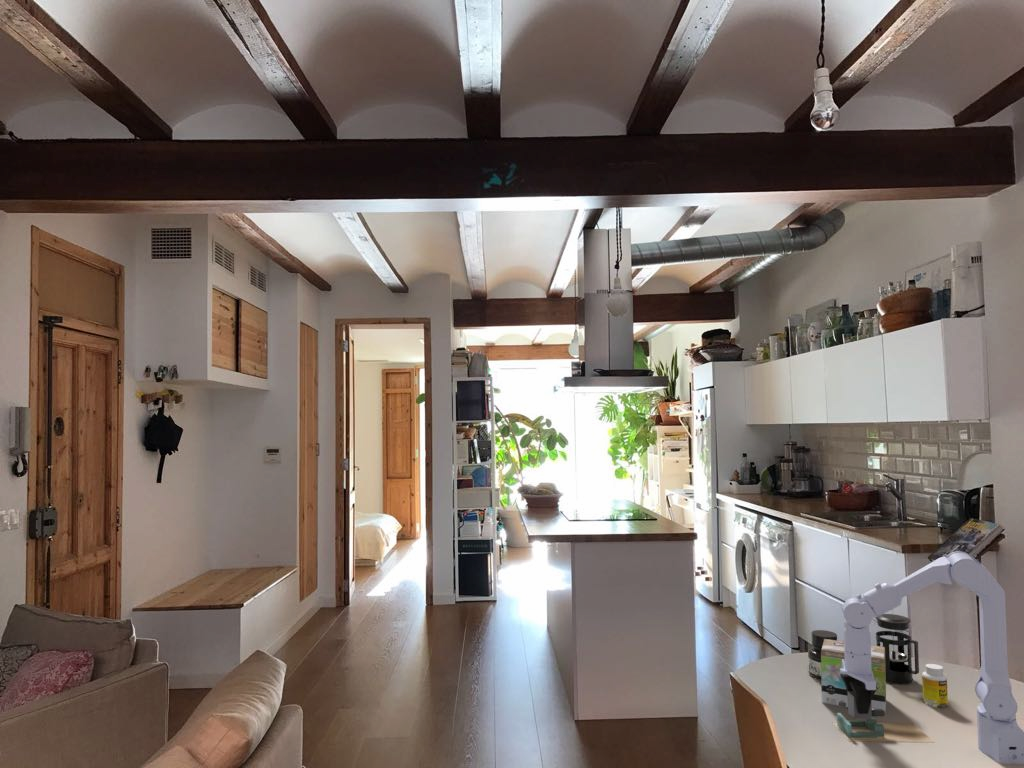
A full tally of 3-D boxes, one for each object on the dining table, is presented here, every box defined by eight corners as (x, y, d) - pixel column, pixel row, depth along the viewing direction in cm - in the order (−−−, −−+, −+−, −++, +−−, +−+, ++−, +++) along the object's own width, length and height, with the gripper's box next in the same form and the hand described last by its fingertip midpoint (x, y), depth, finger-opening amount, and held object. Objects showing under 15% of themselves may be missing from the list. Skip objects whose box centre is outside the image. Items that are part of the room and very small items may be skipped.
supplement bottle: (941, 712, 182) (939, 671, 182) (918, 705, 187) (917, 665, 187) (952, 707, 185) (950, 667, 185) (929, 700, 190) (928, 660, 190)
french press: (867, 676, 207) (865, 595, 208) (883, 669, 212) (881, 590, 213) (910, 689, 197) (907, 604, 198) (925, 680, 203) (923, 598, 204)
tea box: (821, 706, 187) (819, 648, 188) (824, 692, 196) (822, 637, 196) (886, 717, 180) (884, 657, 181) (886, 702, 189) (885, 645, 189)
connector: (888, 719, 168) (888, 697, 169) (854, 718, 169) (853, 697, 169) (881, 713, 172) (881, 691, 172) (847, 712, 172) (847, 691, 173)
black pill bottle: (801, 670, 212) (800, 629, 212) (828, 668, 214) (827, 627, 214) (821, 683, 202) (820, 640, 203) (849, 680, 204) (848, 637, 204)
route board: (934, 745, 165) (934, 728, 165) (849, 744, 166) (848, 727, 166) (912, 726, 175) (912, 710, 175) (832, 725, 176) (831, 709, 176)
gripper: (828, 641, 178) (830, 696, 178) (853, 661, 164) (854, 722, 164) (857, 641, 178) (859, 697, 178) (884, 662, 164) (886, 722, 163)
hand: (859, 709), depth 171 cm, fingers closed on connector, 4 cm apart
